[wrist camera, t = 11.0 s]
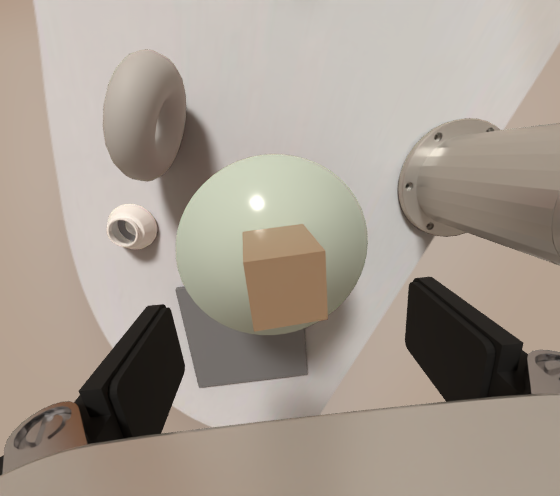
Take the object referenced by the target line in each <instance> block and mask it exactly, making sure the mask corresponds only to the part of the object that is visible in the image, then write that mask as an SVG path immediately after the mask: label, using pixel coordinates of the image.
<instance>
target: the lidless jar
mask: <svg viewBox="0 0 560 496" xmlns="http://www.w3.org/2000/svg"><path fill="white" fill-rule="evenodd" d="M118 220H124V221H126V222H125V228H126V230H127V231H128V232H129V233H130V234H133V235H136V238H135V240H134V241H131V240H128V239H127V238H125V237H124V236H123V235H122V234H121V232H120V231H119V228H118ZM156 234H157V225H156V221H155V219H154V218H153V216H152V215H151V213H150V212H149V211H147V210H146V209H144V208H143V207H141V206H138V205H134V204H126V205H121V206H119V207H117V208H116V209H114V210H113V211H112V213H111V214H110V216H109V218H108V224H107V235H108V237H109V239H110V240H111V241H112V242H113V243H114V244H116V245H118V246H121V247H125V248H129V249H133V250H135V249H143V248H145V247H147V246H148V245H150V244H151V243H152V242H153V241H154V239H155V238H156Z"/></svg>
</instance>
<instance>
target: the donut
mask: <svg viewBox="0 0 560 496" xmlns="http://www.w3.org/2000/svg"><path fill="white" fill-rule="evenodd" d="M185 120H186V94H185V89H184V85H183V80H182V78H181V76H180V74H179V72H178V70H177V69H176V67H175V65H174V64H173V63H172V62H171V61H170V59H168V58H167V57H165V56H163V55H161V54H159V53H157V52H155V51H153V50H148V49H145V50H140V51H137V52H134V53H131V54H129V55H128V56H126V57H125V58H124V59H123V60H122V62H121V63H120V64H119V65H118V66H117V67H116V68H115V71H114V73H113V75H112V77H111V80H110V82H109V84H108V88H107V92H106V97H105V101H104V108H103V131H104V138H105V144H106V147H107V149H108V152H109V154H110V157H111V159H112V161H113V163H114V164H115V165H116V166H117V167H118V168H119V169H120V170H121V171H122V172H123V173H124V174H125V175H126V176H128V177H130V178H132V179H135V180H140V181H152V180H154V179H156V178H158V177H160V176H162V175H164V173H165V172H166V171H167V170H168V169H169V167H170V166H171V165H172V163H173V161H174V159H175V157H176V155H177V153H178V150H179V147H180V144H181V140H182V137H183V133H184V126H185Z"/></svg>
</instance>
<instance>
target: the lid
mask: <svg viewBox="0 0 560 496" xmlns="http://www.w3.org/2000/svg"><path fill="white" fill-rule="evenodd" d="M367 244H368V241H367V228H366V223H365V218H364V215H363V212H362V209H361V207H360V205H359V203H358V201H357V199H356V197H355V196H354V195H353V193H352V192H351V190H350V189H349V188H348V187H347V185H346V184H345V183H344V182H343V181H342V180H341V179H340V178H339V177H337V176H336V175H335V174H334V173H332V172H331V171H330V170H328V169H326V168H325V167H323V166H321V165H319V164H317V163H315V162H312V161H310V160H307V159H304V158H300V157H296V156H291V155H281V154H264V155H258V156H252V157H248V158H245V159H242V160H239V161H236V162H234V163H232V164H230V165H228V166H226V167H224V168H223V169H221V170H220V171H218V172H217V173H215V174H214V175H213V176H212V177H211V178H209V179H208V180H207V181H206V182H205V183H204V184H203V185H202V186H201V187H200V188H199V189H198V191H197V192H196V193H195V194H194V195H193V197H192V198H191V200H190V202H189V203H188V205H187V206H186V208H185V210H184V213H183V215H182V217H181V220H180V223H179V227H178V231H177V237H176V261H177V267H178V271H179V274H180V277H181V280H182V282H183V284H184V286H185V288H186V290H187V292H188V294H189V295H190V296H191V298H192V299H193V301H194V302H195V303H196V304H197V305H198V306H199V307H200V309H201V310H203V311H204V312H205V313H206V314H207V315H208V316H210V317H211V318H213V319H214V320H216V321H217V322H219V323H221V324H223V325H225V326H227V327H229V328H231V329H234V330H237V331H240V332H245V333H249V334H256V335H278V334H286V333H290V332H295V331H298V330H301V329H304V328H306V327H309V326H311V325H313V324H315V323H317V322H319V321H321V320H327V319H328V315H329V314H330V313H332V312H333V311H334V310H335V309H336V308H338V307H339V306H340V305H341V304H342V303H343V302H344V300H345V299H346V298H347V297H348V296H349V294H350V293H351V291H352V290H353V288H354V287H355V285H356V283H357V281H358V279H359V277H360V275H361V272H362V270H363V267H364V263H365V259H366V254H367Z"/></svg>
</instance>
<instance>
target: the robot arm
mask: <svg viewBox="0 0 560 496" xmlns="http://www.w3.org/2000/svg"><path fill="white" fill-rule="evenodd" d="M434 136H435V139H434ZM406 184H407V187H406ZM398 192H399V201H400V204H401V207H402V210H403V212H404V214H405V215H406V217H407V218H408V220H409V221H410V222H411V223H412V224H413V225H414V226H416V227H417V228H419V229H420V230H422V231H424V232H426V233H429V234H432V235H436V236H445V237H448V236H457V235H460V234H463V233H470V234H473V235H476V236H478V237H481V238H484V239H487V240H490V241H493V242H495V243H498V244H501V245H504V246H507V247H509V248H512V249H515V250H518V251H521V252H523V253H526V254H529V255H532V256H535V257H537V258H540V259H543V260H546V261H549V262H552V263H554V264H557V265H560V123H556V124H548V125H539V126H531V127H523V128H515V129H507V130H500V129H499V128H498V127H497V126H495V125H493V124H491V123H490V122H488V121H484V120H480V119H471V118H465V119H459V120H454V121H451V122H447V123H444V124H442V125H440V126H438V127H436V128H434V129H432V130H431V131H430V132H428V133H427V134H426V135H424V136H423V137H422V138H421V139H420V140H419V141H418V142H417V143H416V145H415V146H414V147H413V148H412V150H411V151H410V153H409V154H408V156H407V158H406V160H405V162H404V164H403V167H402V170H401V174H400V177H399V186H398ZM405 343H406V347H407V349H408V350H409V352H410V353H411V355H412V356H413V357H414V359H415V360H416V361H417V363H418V364H419V365H420V367H421V368H422V369H423V371H424V372H425V373H426V375H427V376H428V377H429V379H430V380H431V382H432V383H433V384H434V386H435V387H436V388H437V389H438V391H439V392H440V394H441V395H442V396H443V398H444V399H445V400H446V402H438V403H429V404H420V405H410V406H401V407H391V408H382V409H372V410H363V411H353V412H344V413H335V414H326V415H317V416H308V417H299V418H290V419H281V420H273V421H264V422H255V423H247V424H238V425H230V426H221V427H213V428H204V429H196V430H188V431H180V432H171V433H162V434H161V432H162V430H163V427H164V424H165V422H166V419H167V416H168V413H169V411H170V408H171V406H172V403H173V401H174V398H175V396H176V393H177V390H178V388H179V385H180V383H181V380H182V377H183V375H184V371H185V364H184V360H183V356H182V352H181V348H180V344H179V340H178V336H177V332H176V328H175V324H174V320H173V316H172V312H171V309H170V308H166V306H165V305H164V304H162V305H152V306H147V307H146V308H145V310H144V311H143V312H142V313H141V314H140V316H139V317H138V318H137V319H136V321H135V322H134V323H133V324H132V326H131V327H130V328H129V329H128V331H127V332H126V333H125V334H124V335H123V337H122V338H121V339H120V340H119V342H118V343H117V344H116V345H115V347H114V348H113V349H112V350H111V352H110V353H109V354H108V355H107V357H106V358H105V359H104V360H103V361H102V363H101V364H100V365H99V367H98V368H97V369H96V370H95V371H94V373H93V374H92V375H91V376H90V378H89V379H88V380H87V381H86V383H85V384H84V385H83V386H82V388H81V389H80V390H79V393H80V396H79V397H78V398H77V399H76V401H75V402H70V401H67V402H60V403H56V404H52V405H50V406H48V407H46V408H43V409H41V410H40V411H38V412H36V413H35V414H33V415H31V416H30V417H29V418H27V419H26V420H25V421H23V422H22V423H21V424H20V425H19V426H18V427H17V428H16V429H15V430H14V431H13V432H12V434H11V435H10V436H9V438H8V439H7V442H6V445H5V448H4V455H3V456H2V457H0V496H560V352H556V351H550V350H536V351H532V352H531V353H529V354H527V353H525V352H524V351H523V350H522V347H523V342H521V341H520V340H519V339H517V338H516V337H515V336H513V335H512V334H510V333H509V332H508V331H506V330H505V329H503V328H502V327H501V326H499V325H498V324H496V323H495V322H494V321H492V320H491V319H489V318H488V317H487V316H485V315H484V314H483V313H481V312H480V311H478V310H477V309H476V308H474V307H472V306H471V305H470V304H468V303H467V302H466V301H464V300H463V299H461V298H460V297H459V296H457V295H456V294H455V293H453V292H452V291H450V290H449V289H448V288H446V287H445V286H443V285H442V284H441V283H439V282H438V281H436V280H435V279H434V278H432V277H424V278H415V279H414V280H413V282H411V283H410V284H409V292H408V307H407V320H406V333H405Z"/></svg>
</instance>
